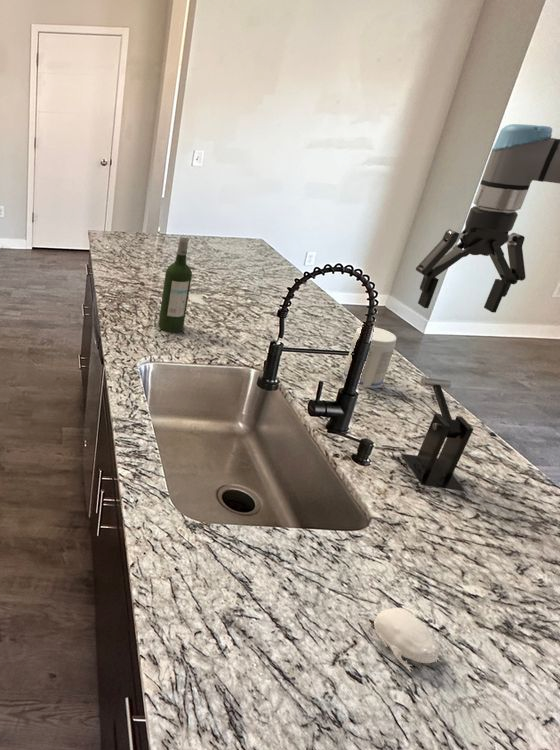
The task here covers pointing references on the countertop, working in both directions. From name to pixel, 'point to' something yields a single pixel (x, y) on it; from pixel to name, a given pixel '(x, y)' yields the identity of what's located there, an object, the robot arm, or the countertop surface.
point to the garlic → (406, 636)
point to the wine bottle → (176, 291)
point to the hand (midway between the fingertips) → (456, 308)
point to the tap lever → (443, 403)
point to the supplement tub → (374, 357)
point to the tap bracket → (440, 468)
